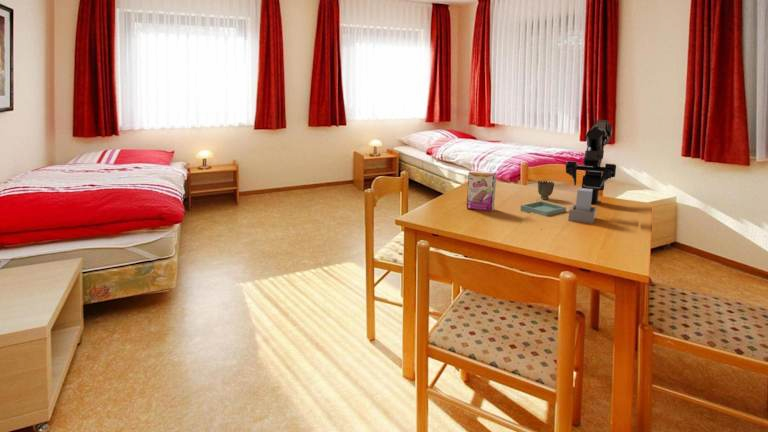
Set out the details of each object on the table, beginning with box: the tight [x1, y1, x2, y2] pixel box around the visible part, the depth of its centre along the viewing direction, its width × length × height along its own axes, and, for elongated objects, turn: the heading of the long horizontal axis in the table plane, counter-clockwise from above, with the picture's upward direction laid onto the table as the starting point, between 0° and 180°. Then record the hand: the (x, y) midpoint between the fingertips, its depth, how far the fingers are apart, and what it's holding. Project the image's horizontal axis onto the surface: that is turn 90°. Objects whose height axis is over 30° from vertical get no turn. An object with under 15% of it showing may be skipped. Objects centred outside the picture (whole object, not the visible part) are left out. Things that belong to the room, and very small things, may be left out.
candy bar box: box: [466, 170, 497, 212], centre depth 200 cm, size 11×5×16 cm, turn 65°
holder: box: [567, 204, 597, 224], centre depth 184 cm, size 9×9×5 cm
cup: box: [537, 180, 555, 200], centre depth 218 cm, size 8×7×8 cm
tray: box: [520, 200, 567, 217], centre depth 198 cm, size 13×13×2 cm
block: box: [575, 187, 593, 211], centre depth 183 cm, size 5×5×12 cm
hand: (587, 185), depth 187 cm, fingers open, 9 cm apart
